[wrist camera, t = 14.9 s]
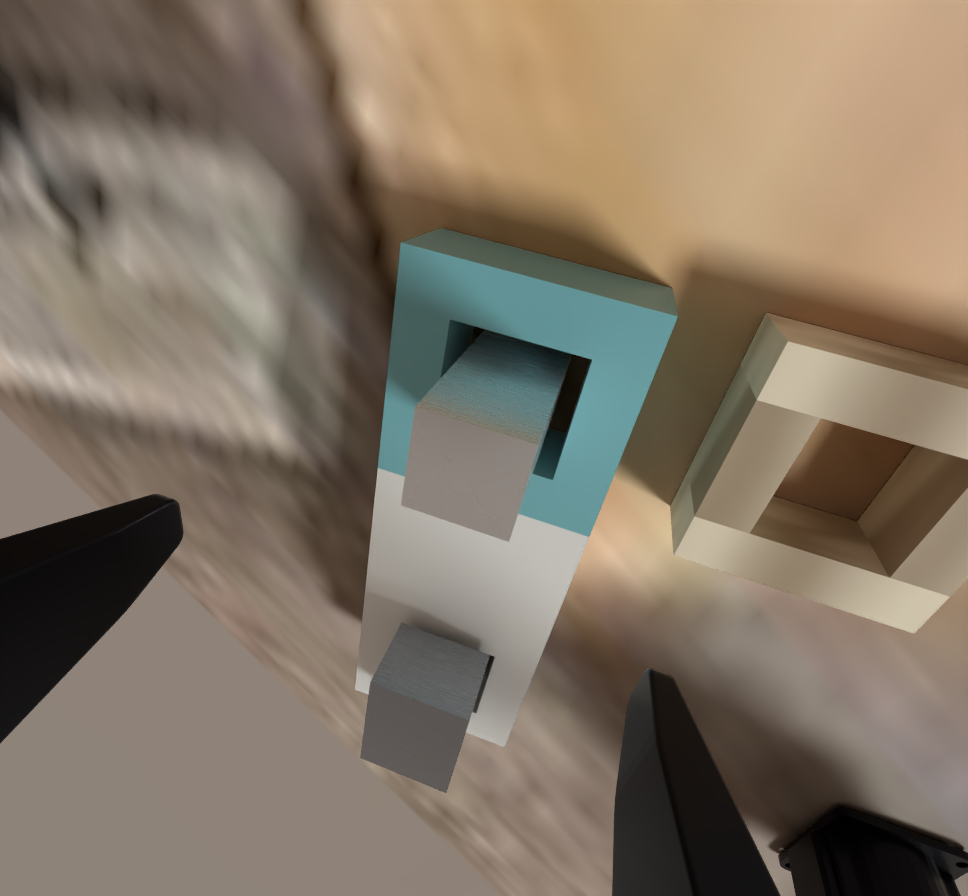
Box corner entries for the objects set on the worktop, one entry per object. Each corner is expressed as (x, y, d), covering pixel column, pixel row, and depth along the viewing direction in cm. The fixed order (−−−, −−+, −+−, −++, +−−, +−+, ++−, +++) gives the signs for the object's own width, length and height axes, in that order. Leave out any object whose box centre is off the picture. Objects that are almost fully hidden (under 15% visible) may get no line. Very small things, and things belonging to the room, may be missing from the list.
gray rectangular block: (510, 588, 25) (469, 720, 19) (488, 659, 28) (446, 793, 22) (433, 561, 26) (370, 682, 20) (419, 633, 29) (360, 757, 23)
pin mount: (1038, 383, 15) (1114, 428, 13) (879, 571, 20) (914, 633, 17) (766, 312, 16) (788, 341, 14) (670, 506, 21) (673, 555, 18)
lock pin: (577, 338, 18) (538, 444, 12) (554, 412, 20) (508, 542, 13) (496, 316, 19) (415, 406, 12) (481, 389, 20) (400, 505, 14)
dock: (672, 287, 17) (678, 316, 14) (518, 685, 28) (504, 747, 26) (440, 227, 18) (400, 242, 15) (384, 635, 29) (355, 689, 26)
